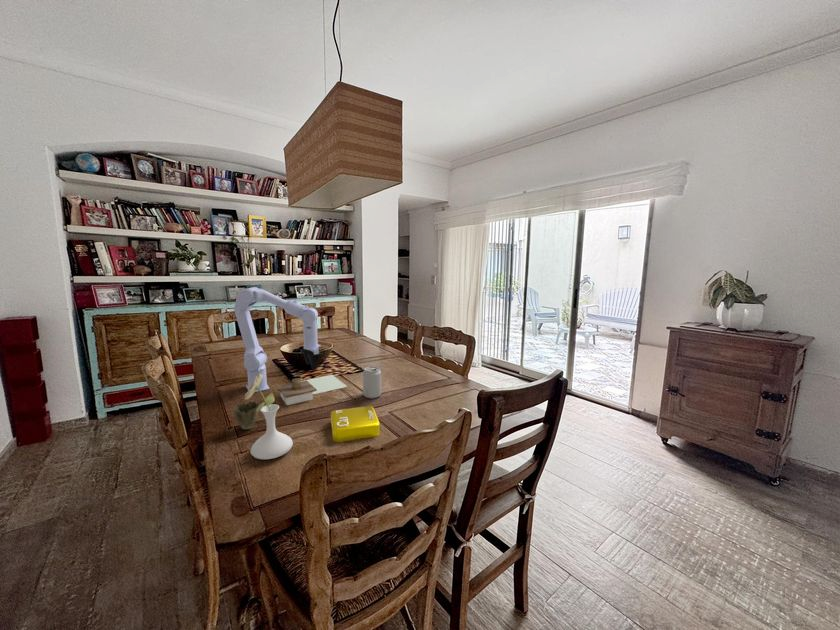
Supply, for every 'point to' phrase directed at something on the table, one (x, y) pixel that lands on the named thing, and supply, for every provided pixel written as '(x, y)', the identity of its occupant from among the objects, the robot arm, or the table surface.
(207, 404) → the table surface
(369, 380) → the can
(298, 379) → the lid
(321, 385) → the mat
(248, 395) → the flower in vase
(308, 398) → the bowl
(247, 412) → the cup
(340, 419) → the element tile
